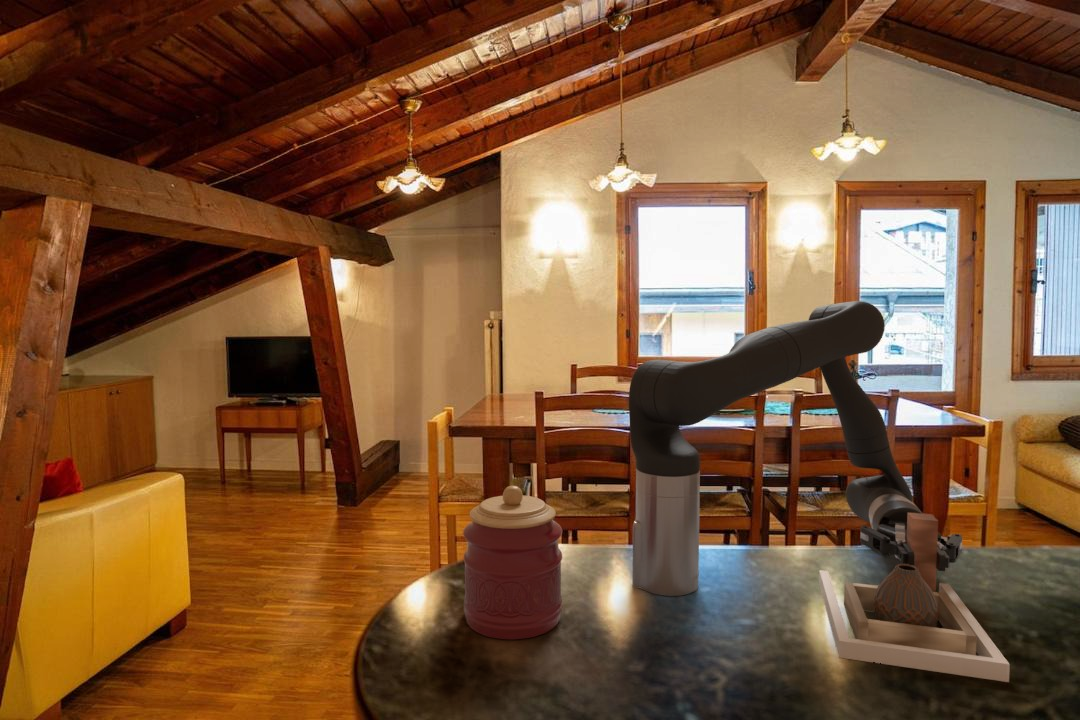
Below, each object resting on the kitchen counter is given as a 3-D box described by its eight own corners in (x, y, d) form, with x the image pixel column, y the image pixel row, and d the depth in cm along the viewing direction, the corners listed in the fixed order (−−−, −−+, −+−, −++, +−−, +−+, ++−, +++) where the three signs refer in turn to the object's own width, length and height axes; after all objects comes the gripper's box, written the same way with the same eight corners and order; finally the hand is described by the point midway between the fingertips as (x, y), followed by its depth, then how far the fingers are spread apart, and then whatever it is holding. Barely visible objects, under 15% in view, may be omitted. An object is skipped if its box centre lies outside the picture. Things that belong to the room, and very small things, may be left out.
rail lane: (839, 657, 75) (839, 640, 74) (819, 583, 95) (819, 570, 95) (1008, 682, 69) (1009, 664, 69) (948, 598, 90) (949, 584, 90)
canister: (443, 618, 84) (441, 486, 83) (513, 588, 94) (512, 469, 93) (512, 653, 76) (512, 506, 75) (582, 616, 85) (582, 485, 84)
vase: (946, 653, 76) (949, 580, 75) (883, 647, 77) (885, 575, 76) (924, 625, 82) (926, 558, 82) (866, 620, 84) (868, 554, 83)
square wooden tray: (858, 647, 76) (861, 548, 75) (838, 588, 93) (840, 507, 92) (975, 664, 72) (979, 560, 72) (933, 599, 89) (936, 514, 88)
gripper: (849, 495, 103) (869, 529, 87) (950, 503, 99) (990, 540, 83) (848, 541, 104) (867, 583, 87) (948, 551, 100) (987, 596, 83)
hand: (926, 562), depth 85 cm, fingers closed on square wooden tray, 3 cm apart
